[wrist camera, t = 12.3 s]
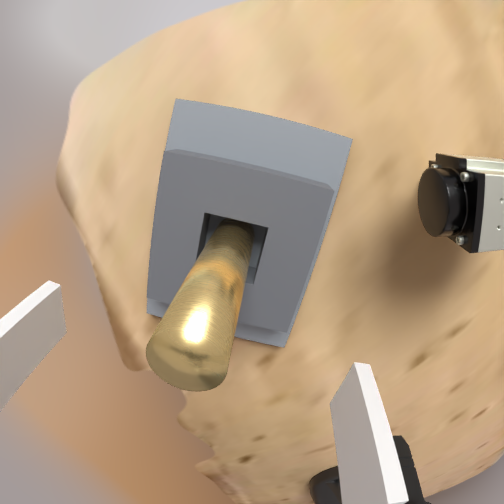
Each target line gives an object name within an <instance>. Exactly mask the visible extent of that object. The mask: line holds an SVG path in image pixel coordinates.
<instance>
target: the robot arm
mask: <svg viewBox="0 0 504 504" xmlns="http://www.w3.org/2000/svg"><path fill="white" fill-rule="evenodd" d="M66 333H67V331H66V325H65V318H64V310H63V302H62V293H61V285H59V284H56V283H54V282H52V281H47V282H46V283H45V284H43V285H42V286H41V287H40V288H38V289H37V290H36V291H34V292H33V293H32V294H31V295H29V296H28V297H27V298H26V299H24V300H23V301H22V302H21V303H20V304H18V305H17V306H16V307H15V308H13V309H12V310H11V311H10V312H9V313H8V314H6V315H5V316H4V317H3V318H2V319H0V411H1V410H2V409H3V408H4V406H5V405H6V404H7V402H8V401H9V400H10V399H11V397H12V396H13V395H14V393H15V392H16V391H17V390H18V389H19V387H20V386H21V385H22V384H23V382H24V381H25V380H26V379H27V377H28V376H29V375H30V374H31V373H32V371H33V370H34V369H35V368H36V367H37V366H38V364H39V363H40V362H41V361H42V360H43V359H44V357H45V356H46V355H47V354H48V353H49V352H50V351H51V350H52V348H53V347H54V346H55V345H56V344H57V343H58V341H60V339H61V338H62V337H63V336H64V335H65V334H66ZM330 409H331V416H332V423H333V430H334V437H335V445H336V453H337V461H338V466H337V467H334V468H331V469H328V470H326V471H323V472H321V473H319V474H318V475H316V476H315V477H313V478H312V479H311V481H310V494H311V496H312V498H313V501H314V503H315V504H431V503H429V502H425V500H424V498H423V494H422V490H421V487H420V483H419V479H418V476H417V472H416V468H415V467H414V462H413V459H412V455H411V451H410V448H409V445H408V444H407V443H406V441H405V440H404V438H403V437H402V436H392V433H391V430H390V426H389V423H388V420H387V416H386V413H385V410H384V407H383V403H382V400H381V397H380V394H379V391H378V388H377V385H376V382H375V379H374V376H373V373H372V370H371V367H370V364H364V363H356V362H354V363H353V365H352V367H351V369H350V370H349V372H348V374H347V376H346V377H345V379H344V381H343V382H342V384H341V386H340V387H339V389H338V391H337V392H336V394H335V396H334V397H333V399H332V400H331V402H330Z"/></svg>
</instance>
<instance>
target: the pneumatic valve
mask: <svg viewBox="0 0 504 504" xmlns="http://www.w3.org/2000/svg"><path fill="white" fill-rule="evenodd" d="M418 206H419V213H420V217H421V220H422V223H423V225H424V227H425V229H426V231H427V232H428V233H429V234H430V235H431V236H434V237H441V236H447V237H448V238H450V239H451V240H453V241H454V242H455V243H457V245H460V246H461V247H462V248H464V249H465V250H466V251H468V252H469V253H478V252H487V251H496V250H504V159H498V158H489V157H479V156H467V155H454V154H438V153H436V161H429V167H428V169H426V170H425V171H424V173H423V174H422V176H421V179H420V183H419V188H418Z"/></svg>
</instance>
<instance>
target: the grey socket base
mask: <svg viewBox="0 0 504 504" xmlns="http://www.w3.org/2000/svg"><path fill="white" fill-rule="evenodd" d="M352 140H353V139H351V138H348V137H345V136H341V135H338V134H335V133H332V132H329V131H325V130H322V129H319V128H315V127H312V126H308V125H305V124H301V123H297V122H293V121H290V120H286V119H282V118H278V117H273V116H269V115H265V114H260V113H256V112H251V111H247V110H242V109H237V108H231V107H226V106H220V105H215V104H209V103H202V102H196V101H189V100H182V99H176V100H175V104H174V109H173V114H172V118H171V123H170V128H169V133H168V138H167V143H166V148H165V151H164V154H163V160H162V166H161V172H160V178H159V185H158V192H157V199H156V206H155V214H154V222H153V230H152V239H151V249H150V260H149V272H148V286H147V313H148V314H151V315H155V316H158V317H162V318H163V316H164V314H165V312H166V311H167V309H168V307H169V306H170V304H171V302H172V300H173V299H174V297H175V295H176V294H177V292H178V290H179V288H180V287H181V285H182V283H183V282H184V280H185V278H186V277H187V275H188V273H189V272H190V270H191V268H192V267H193V265H194V263H195V262H196V260H197V258H198V257H199V255H200V254H201V252H202V250H203V249H204V247H205V245H206V244H207V242H208V240H209V239H210V237H211V236H212V234H213V232H214V231H215V229H216V228H217V226H218V224H219V223H220V222H221V221H222V220H224V219H225V218H231V219H235V220H239V221H243V222H248V223H250V224H251V226H252V227H253V230H254V234H255V238H254V243H253V248H252V253H251V257H250V262H249V267H248V272H247V277H246V282H245V287H244V292H243V296H242V301H241V306H240V311H239V316H238V321H237V326H236V331H235V335H234V337H238V338H242V339H246V340H251V341H255V342H260V343H264V344H269V345H274V346H279V347H285V344H286V342H287V339H288V337H289V334H290V332H291V329H292V326H293V324H294V321H295V318H296V316H297V313H298V310H299V308H300V305H301V302H302V299H303V297H304V294H305V291H306V288H307V285H308V282H309V280H310V277H311V274H312V271H313V268H314V265H315V262H316V259H317V256H318V253H319V250H320V247H321V244H322V241H323V238H324V235H325V232H326V229H327V226H328V223H329V219H330V216H331V213H332V210H333V206H334V203H335V200H336V196H337V193H338V190H339V186H340V183H341V180H342V176H343V173H344V169H345V165H346V162H347V158H348V155H349V151H350V147H351V144H352Z"/></svg>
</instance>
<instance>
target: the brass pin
mask: <svg viewBox="0 0 504 504" xmlns="http://www.w3.org/2000/svg"><path fill="white" fill-rule="evenodd" d="M254 238H255V234H254V230H253V227H252V226H251V224H250V223H248V222H243V221H239V220H235V219H231V218H225V219H224V220H222V221H221V222H220V223H219V224H218V226H217V228H216V229H215V231H214V232H213V234H212V236H211V237H210V239H209V240H208V242H207V244H206V245H205V247H204V249H203V250H202V252H201V254H200V255H199V257H198V258H197V260H196V262H195V263H194V265H193V267H192V268H191V270H190V272H189V273H188V275H187V277H186V278H185V280H184V282H183V283H182V285H181V287H180V288H179V290H178V292H177V294H176V295H175V297H174V299H173V300H172V302H171V304H170V306H169V307H168V309H167V311H166V312H165V314H164V316H163V318H162V319H161V321H160V323H159V325H158V326H157V328H156V330H155V332H154V333H153V335H152V337H151V339H150V341H149V342H148V344H147V347H146V357H147V361H148V363H149V365H150V367H151V368H152V370H153V371H154V372H155V373H156V374H157V375H158V376H159V377H160V378H161V379H162V380H164V381H165V382H167V383H168V384H170V385H172V386H174V387H177V388H180V389H183V390H187V391H207V390H210V389H213V388H215V387H217V386H218V385H220V384H221V383H222V382H223V381H224V379H225V377H226V374H227V370H228V365H229V360H230V355H231V350H232V345H233V340H234V335H235V331H236V326H237V321H238V316H239V311H240V306H241V301H242V296H243V292H244V287H245V282H246V277H247V272H248V267H249V262H250V257H251V253H252V248H253V243H254Z"/></svg>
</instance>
